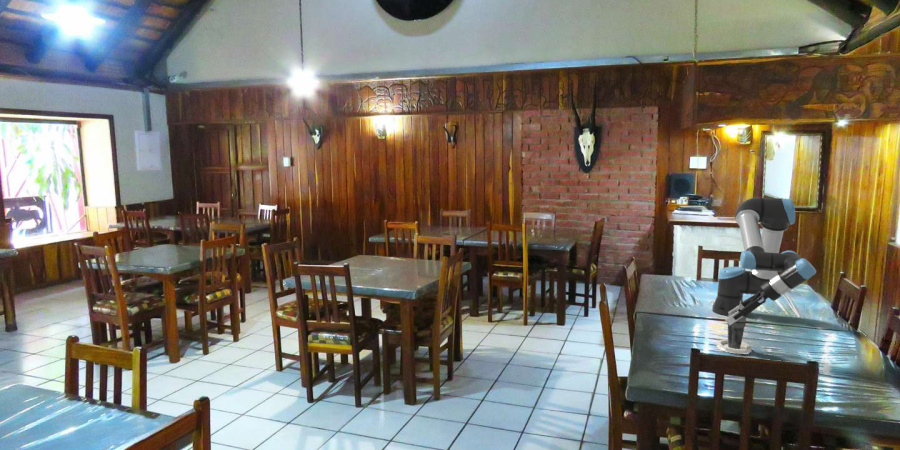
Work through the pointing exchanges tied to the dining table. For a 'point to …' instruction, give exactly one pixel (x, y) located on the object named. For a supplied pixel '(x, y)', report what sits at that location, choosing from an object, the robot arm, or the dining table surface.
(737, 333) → the beverage cup
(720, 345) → the plate
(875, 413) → the dining table surface
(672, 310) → the dining table surface
